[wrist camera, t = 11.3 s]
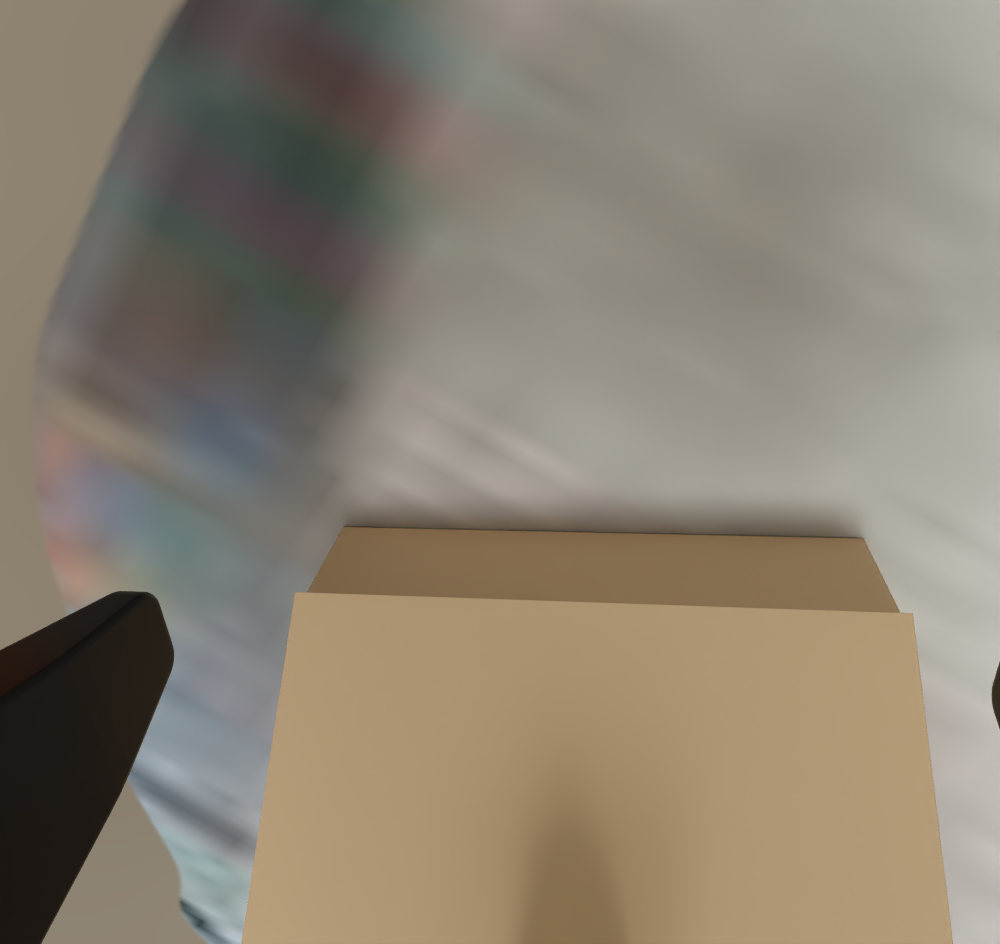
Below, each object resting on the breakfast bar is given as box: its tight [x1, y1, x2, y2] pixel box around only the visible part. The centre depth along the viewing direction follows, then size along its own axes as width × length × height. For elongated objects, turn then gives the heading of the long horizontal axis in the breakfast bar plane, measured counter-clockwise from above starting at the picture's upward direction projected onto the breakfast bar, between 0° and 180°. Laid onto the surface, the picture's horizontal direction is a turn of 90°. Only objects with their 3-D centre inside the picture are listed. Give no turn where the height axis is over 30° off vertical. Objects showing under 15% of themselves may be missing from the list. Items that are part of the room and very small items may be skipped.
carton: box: [307, 527, 900, 613], centre depth 24 cm, size 12×15×4 cm
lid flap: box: [242, 592, 953, 944], centre depth 16 cm, size 12×15×5 cm
